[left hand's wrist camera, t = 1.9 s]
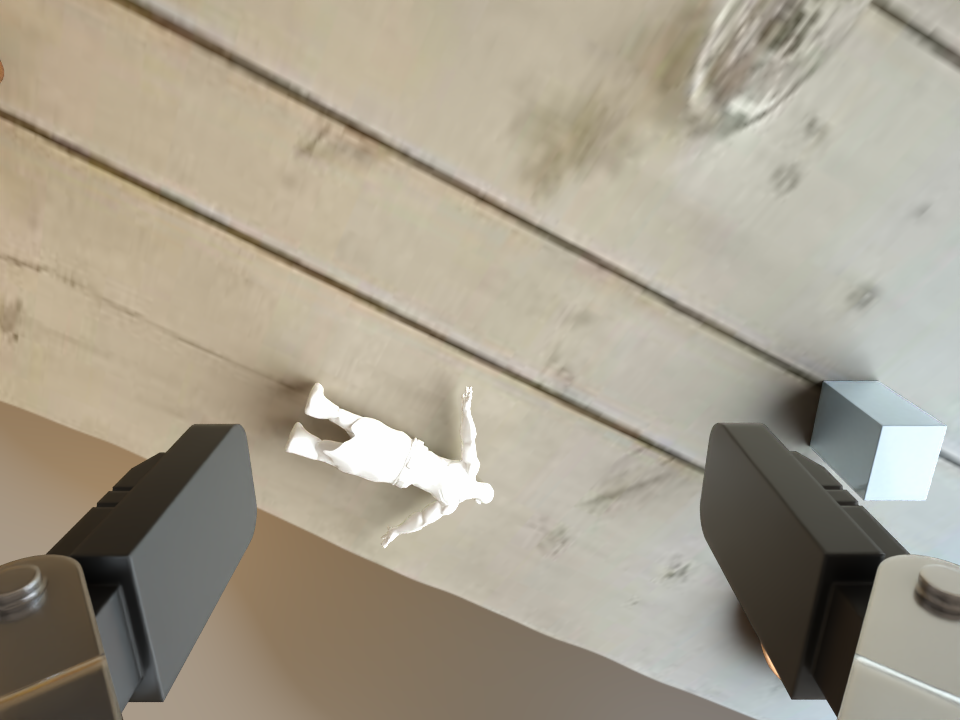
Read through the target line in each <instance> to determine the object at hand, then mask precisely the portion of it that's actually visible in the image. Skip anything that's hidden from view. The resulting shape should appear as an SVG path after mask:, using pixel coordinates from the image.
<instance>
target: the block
mask: <svg viewBox="0 0 960 720" xmlns="http://www.w3.org/2000/svg"><path fill="white" fill-rule="evenodd" d="M946 428H947V425H945V424H944V423H942V422H941V421H939V420H938V419H936V418H935V417H933V416H932V415H930V414H929V413H927V412H925V411H924V410H922V409H921V408H919V407H918V406H916V405H915V404H913V403H912V402H910V401H909V400H907V399H906V398H904V397H903V396H901V395H900V394H898V393H896V392H895V391H893V390H892V389H890V388H889V387H887V386H886V385H884V384H883V383H881V382H880V381H823V384H822V389H821V394H820V399H819V404H818V408H817V413H816V418H815V423H814V428H813V433H812V437H811V442H810V448H811V449H812V450H813V451H814V452H815V453H817V454H818V455H819V456H820V457H821V458H822V459H823V460H824V461H825V462H826V463H827V464H828V465H829V466H830V467H831V468H832V469H833V470H834V471H835V472H836V473H837V474H838V475H839V476H840V477H841V478H842V479H843V480H844V481H845V482H846V483H847V484H848V485H849V486H850V487H851V488H852V489H853V490H854V491H855V492H856V493H857V494H858V495H859V496H860V497H861V498H862V499H863V500H926V498H927V494H928V491H929V487H930V484H931V480H932V477H933V473H934V470H935V466H936V463H937V460H938V456H939V453H940V449H941V446H942V442H943V439H944V435H945V432H946Z"/></svg>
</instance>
